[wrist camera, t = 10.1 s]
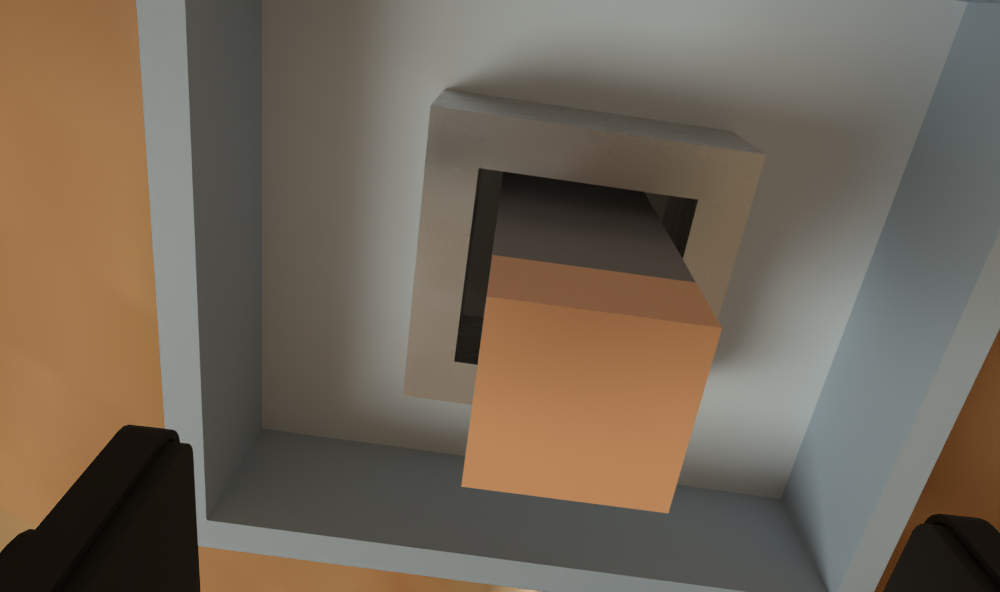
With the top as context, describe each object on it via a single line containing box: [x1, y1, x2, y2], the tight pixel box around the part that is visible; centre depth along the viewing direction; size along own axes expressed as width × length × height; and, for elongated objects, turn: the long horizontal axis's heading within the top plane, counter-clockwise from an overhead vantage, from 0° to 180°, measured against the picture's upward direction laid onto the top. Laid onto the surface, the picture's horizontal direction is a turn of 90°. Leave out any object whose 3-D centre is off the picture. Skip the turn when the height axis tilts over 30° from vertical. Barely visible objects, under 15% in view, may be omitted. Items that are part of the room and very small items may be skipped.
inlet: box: [403, 89, 766, 405], centre depth 19 cm, size 8×8×3 cm
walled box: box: [136, 0, 1000, 592], centre depth 19 cm, size 20×18×5 cm
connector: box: [461, 171, 722, 513], centre depth 17 cm, size 4×4×9 cm
